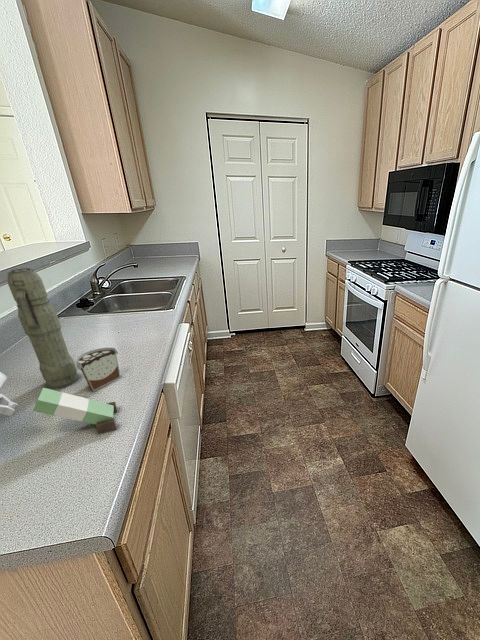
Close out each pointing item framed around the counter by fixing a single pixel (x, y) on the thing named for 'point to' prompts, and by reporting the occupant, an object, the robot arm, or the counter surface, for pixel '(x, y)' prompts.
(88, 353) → the cake slice
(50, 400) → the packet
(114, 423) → the stand
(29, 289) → the moai statue
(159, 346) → the counter surface
